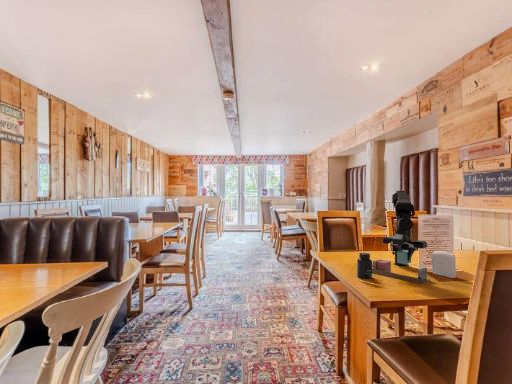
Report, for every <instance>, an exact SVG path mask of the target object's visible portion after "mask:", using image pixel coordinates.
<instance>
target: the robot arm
mask: <svg viewBox="0 0 512 384" xmlns="http://www.w3.org/2000/svg"><path fill="white" fill-rule="evenodd" d="M391 203H392V204H393V205H392V206H393V208H394V211H395V212H394V213H395V214H394V215H395V218H396V222H395V223H396V230H395V234H394V235H392V236H385V237H383V238H382V244H385V245H386V244H387V245H390V247H391V252H392V255H393V256H394V263H392V265H394V266H400V267H408V266H409V263H408V264H401V263H397V251H400V250H407V251H408V261H410V259H411V260H412V257H413V254H414V252H415V251H416V249H421V250H422V249H427V248H428V242H427V240H414V241H412V240H413V238H412V232H413V230H412V228H413V226H414V222H413V221H412V219H411V217H413V218H414V217H415V215H416V210H415V206H414V204H412V201H411V200H410V194H409V193H407V190H396V191H395V193H394V194H392V196H391Z"/></svg>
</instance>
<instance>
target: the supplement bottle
mask: <svg viewBox="0 0 512 384" xmlns="http://www.w3.org/2000/svg"><path fill="white" fill-rule="evenodd" d="M356 263H357V264H356V276H357V278H358V279H363V280H369V279H371V280H372V279H373V273H372V268H373V267H372V264H373V260H372V259H371V253H369V252H360V253H359V258H358V259H357V260H356Z"/></svg>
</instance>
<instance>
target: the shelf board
mask: <svg viewBox="0 0 512 384" xmlns="http://www.w3.org/2000/svg"><path fill="white" fill-rule="evenodd" d="M382 260H383V259H380V258H379V259H376V260H372V264H373V267H372V274H376V275H380V276H385V277H389V278H392V279H393V278H394V279H398V280H403V281H405V282H410V283H411V282H412V283H415V284H419V285H423V284H424V283H423V279H419V278H418V277H414V276H409V275H405V274H400V273H395V272H392V271H391V272H387V271H382V270H378V269H377V262H378V261H382Z"/></svg>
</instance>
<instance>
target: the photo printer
mask: <svg viewBox="0 0 512 384" xmlns="http://www.w3.org/2000/svg"><path fill="white" fill-rule="evenodd" d="M456 259H457V257H456V255H455V254H453V253H451V252H449V251H445V250H435V251H432V254H431V268H432V269H431V270H432V274H435V275H438V276H442V277H446V278H449V279H450V278H451V279H456V277H457V267H456V266H457V265H456V264H457V263H456V262H457V261H456Z"/></svg>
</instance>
